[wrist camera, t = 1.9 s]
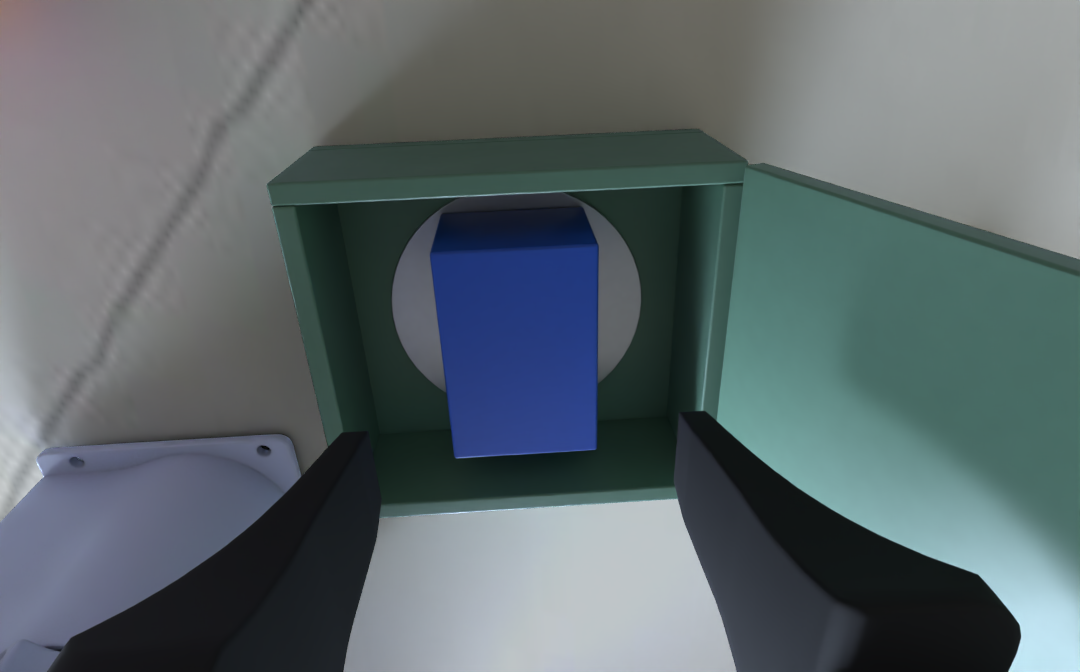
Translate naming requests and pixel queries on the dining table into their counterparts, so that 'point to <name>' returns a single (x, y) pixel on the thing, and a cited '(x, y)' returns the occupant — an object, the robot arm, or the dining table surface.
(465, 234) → the block
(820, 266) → the lid
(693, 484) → the robot arm
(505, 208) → the plate
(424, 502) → the box
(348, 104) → the dining table surface
